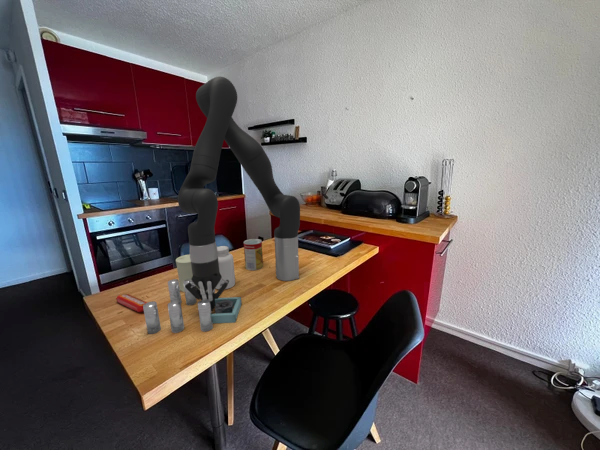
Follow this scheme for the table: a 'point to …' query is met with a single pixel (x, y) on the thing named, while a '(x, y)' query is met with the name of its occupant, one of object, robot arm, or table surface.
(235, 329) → the table surface
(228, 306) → the nut
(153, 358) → the table surface
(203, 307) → the spacers
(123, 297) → the candy bar
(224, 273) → the pill bottle
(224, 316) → the corral
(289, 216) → the robot arm
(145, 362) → the table surface
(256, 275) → the table surface
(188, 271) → the can
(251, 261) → the canned food
